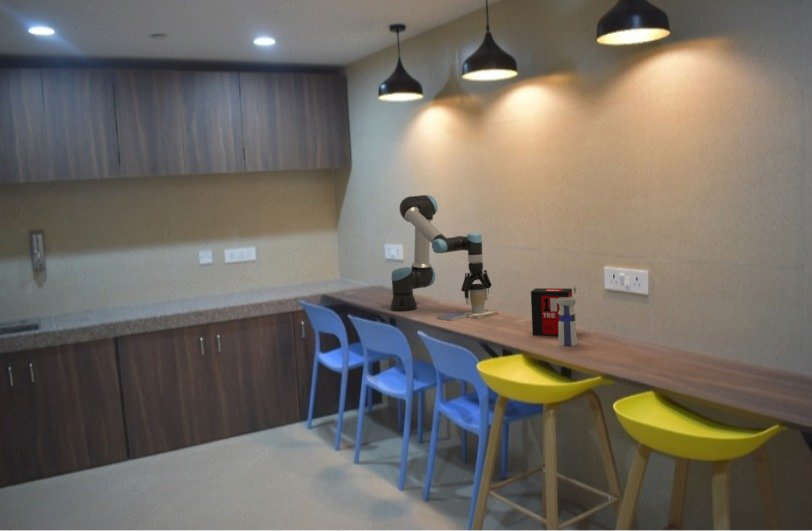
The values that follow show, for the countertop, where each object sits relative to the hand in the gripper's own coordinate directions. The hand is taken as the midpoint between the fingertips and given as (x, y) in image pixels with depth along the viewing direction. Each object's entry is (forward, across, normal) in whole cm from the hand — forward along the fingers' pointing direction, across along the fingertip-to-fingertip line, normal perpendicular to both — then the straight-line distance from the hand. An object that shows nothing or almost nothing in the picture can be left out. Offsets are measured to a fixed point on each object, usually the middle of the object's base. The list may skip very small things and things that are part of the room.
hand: (477, 302), depth 366 cm
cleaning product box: (+6, -12, -60) cm, 62 cm away
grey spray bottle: (+6, -24, -78) cm, 82 cm away
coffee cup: (+6, 0, 0) cm, 6 cm away
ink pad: (+7, -14, +6) cm, 16 cm away
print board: (+7, 0, 0) cm, 7 cm away
